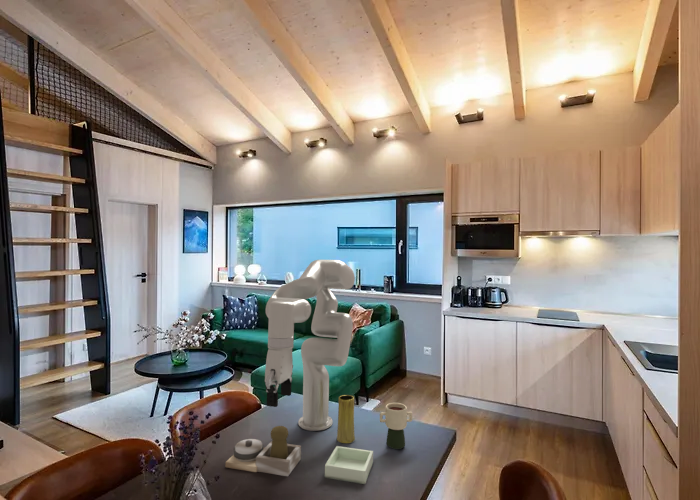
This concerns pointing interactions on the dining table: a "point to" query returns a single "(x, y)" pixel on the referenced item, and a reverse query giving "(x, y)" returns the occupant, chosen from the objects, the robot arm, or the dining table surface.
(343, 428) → the vase
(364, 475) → the tray
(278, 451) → the cork
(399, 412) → the cream green cup
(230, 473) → the dining table surface
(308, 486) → the dining table surface
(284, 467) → the desk organizer
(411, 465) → the dining table surface
